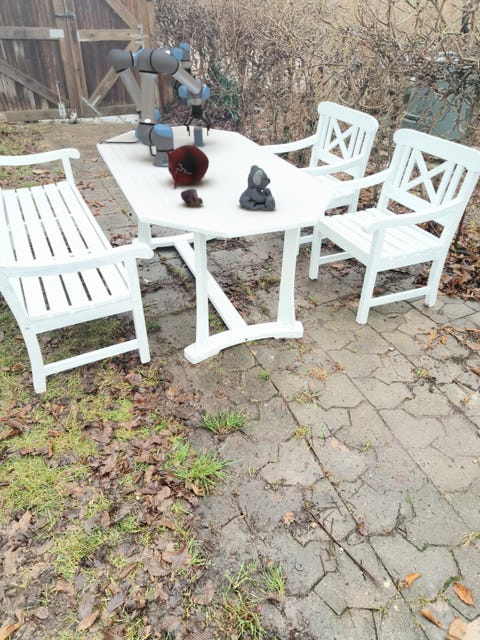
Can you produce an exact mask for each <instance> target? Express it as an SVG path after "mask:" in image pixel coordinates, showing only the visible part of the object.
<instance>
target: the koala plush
mask: <svg viewBox="0 0 480 640" xmlns="http://www.w3.org/2000/svg"><path fill="white" fill-rule="evenodd" d="M270 183H271V178H269V176H268V175H267V173H266V172H265V170H264V169H263V168H261V167H259V165H257V164H253V165H250V170H249V173H248V176H247V188H246V189H245V190H244V191H243V192H242V193H241V194H240V197H239V199H238V203H239V204H240V206H241V207H242V208H246V209H247V210H252V211H255V210H261V211H272V210H274V209H275V208H276V200H275V198H274V196H273V194H272V191H271V188H270V187H268V186H269V185H270Z"/></svg>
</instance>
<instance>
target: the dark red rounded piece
mask: <svg viewBox="0 0 480 640" xmlns="http://www.w3.org/2000/svg"><path fill="white" fill-rule="evenodd" d="M165 151H166V153H167V155H168V167H167V169H168V172H169V174H170V175H171V178H172V180H173V181H174V185H173V188H174V189H176V188H177V185H194V184H197V183H199V182H200V181H201V180H202V179H203V178H204V177H205V175H206V174H207V172H208V169H209V166H210V161H209V157H208V156H207V155H206V153H205V152H204V151H202V150H201V149H200V148H199V147H198V146H194V145H192V144H185V145H181V146H178V147H176V148H174V150H173V151H172V152H171V153H169V152H168V150H167V149H165Z"/></svg>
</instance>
